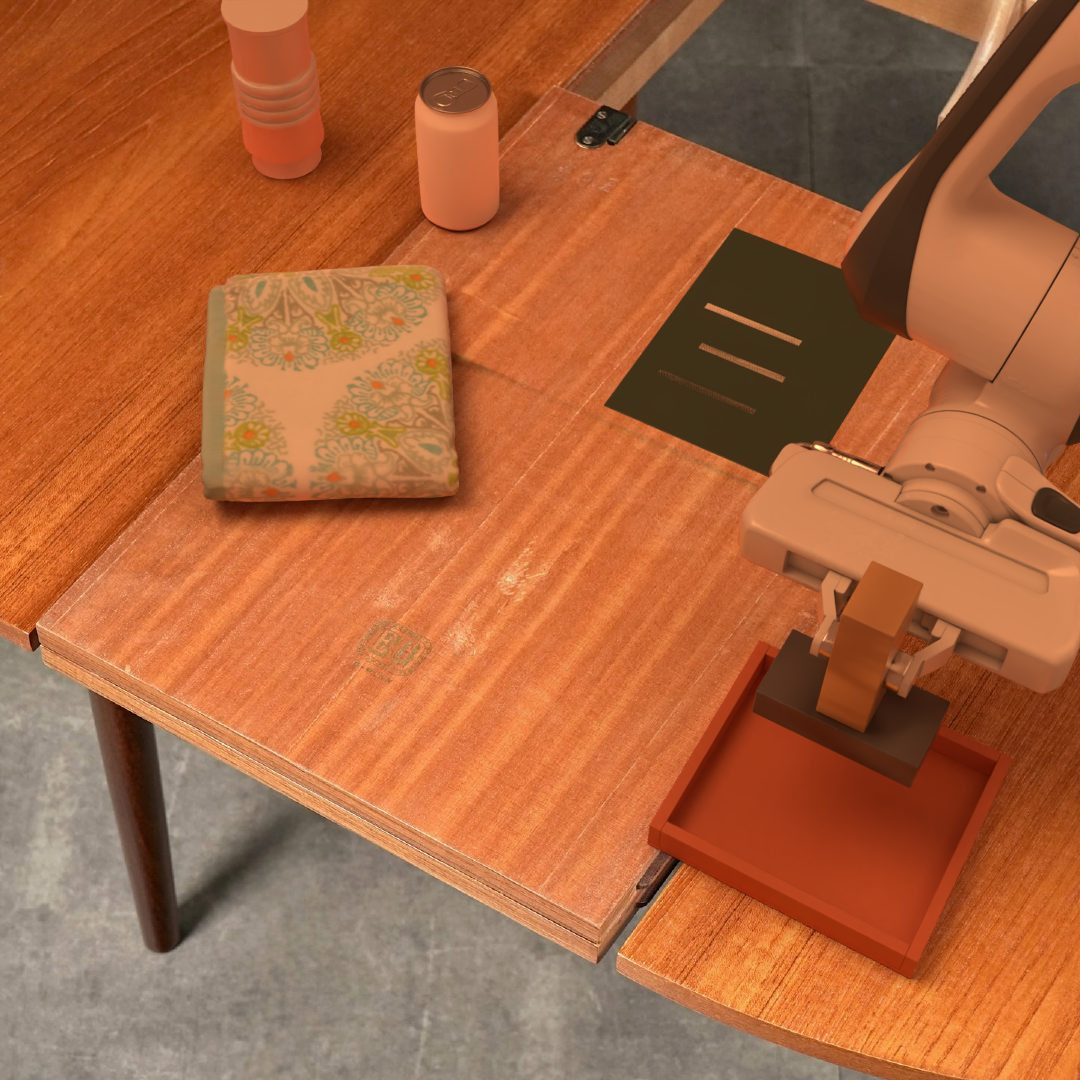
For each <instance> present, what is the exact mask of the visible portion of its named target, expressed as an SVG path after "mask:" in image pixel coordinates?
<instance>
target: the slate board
mask: <svg viewBox="0 0 1080 1080" xmlns="http://www.w3.org/2000/svg"><path fill="white" fill-rule="evenodd" d="M896 338H897V335H896V334H894V333H891V332H889V331H887V330H884V329H882V328H880V327H877V326H875V325H873V324H871V323H868V322H866V321H864V320H862V319H861V318H860V316H859V314H858V312H857V310H856V308H855V306H854V304H853V301H852V299H851V297H850V294H849V292H848V289H847V286H846V283H845V280H844V277H843V273H842V269H841V267H838V266H836V265H833V264H831V263H828V262H825V261H822V260H820V259H817V258H815V257H813V256H810V255H807V254H804V253H801V252H800V251H797V250H794V249H792V248H789V247H787V246H784V245H781V244H779V243H776V242H773V241H771V240H768V239H766V238H764V237H760V236H758V235H755V234H753V233H750V232H748V231H745V230H743V229H740V228H737V227H733V228H732V230H731V231H730V233H729V234H728V235H727V237H726V238H725V239H724V241H723V242H722V243H721V244H720V246H719V247H718V249H716V252H715V253H714V254H713V255H712V257H711V258H710V260H709V261H708V262H707V264H706V265H705V266H704V268H703V270H701V272H700V273H699V275H698V276H697V277H696V278H695V280H694V281H693V282H692V284H691V285H690V287H689V288H688V290H687V291H686V292H685V294H684V295H683V297H682V298H681V299H680V301H679V302H678V303H677V305H676V306H675V308H673V310H672V311H671V312H670V314H669V315H668V317H667V318H666V319H665V320H664V322H663V323H662V325H661V326H660V327H659V329H658V330H657V332H655V335H654V336H653V337H652V339H651V340H649V343H648V344H647V345H646V347H645V348H644V349H643V351H642V352H641V353H640V355H639V357H638V358H637V359H636V360H635V362H634V363H633V364H632V366H631V367H630V368H629V370H628V371H627V372H626V374H625V375H624V377H623V378H622V379H621V380H620V382H619V383H618V385H617V387H616V388H615V389H614V390H613V391H612V393H611V394H610V395H609V397H608V398H607V400H606V401H605V402H604V404H603V406H604V407H605V408H608V409H610V410H612V411H614V412H617V413H619V414H621V415H624V416H626V417H629V418H631V419H633V420H635V421H637V422H640V423H642V424H645V425H647V426H649V427H651V428H654V429H656V430H657V431H661V432H663V433H666V434H668V435H670V436H673V437H675V438H677V439H679V440H681V441H684V442H686V443H689V444H691V445H693V446H696V447H698V448H700V449H703V450H705V451H706V452H710V453H711V454H714V455H716V456H719V457H721V458H723V459H726V460H728V461H730V462H732V463H735V464H737V465H740V466H741V467H744V468H746V469H749V470H751V471H753V472H755V473H758V474H760V475H762V476H765V477H767V478H769V471H770V467H771V466H772V464H773V462H774V461H775V459H776V458H777V456H778V455H779V453H780V452H781V451H782V449H783V448H784V447H785V446H786V445H788V444H791V443H801V442H802V443H811V444H813V443H814V441H821V442H825V443H828V444H830V445H831V442H832V441H833V439H834V437H835V436H836V434H837V432H838V431H839V430H840V427H841V426H842V425H843V423H844V421H845V420H846V417H847V416H848V415H849V413H850V411H851V410H852V408H853V406H854V405H855V403H856V402H857V400H858V399H859V397H860V395H861V394H862V392H863V390H864V389H865V388H866V385H867V384H868V382H869V381H870V379H871V377H872V376H873V374H874V372H875V371H876V369H877V368H878V366H879V365H880V363H881V361H882V359H883V358H884V356H885V355H886V354H887V351H888V350H889V348H890V347H891V345H892V343H893V342H894V340H895V339H896Z"/></svg>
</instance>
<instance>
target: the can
mask: <svg viewBox="0 0 1080 1080" xmlns="http://www.w3.org/2000/svg"><path fill="white" fill-rule="evenodd" d="M489 79H490V78H488V77H487V76H486V75H485V74H484V73H483V72H481V71H480V70H477V69H475V68H472V67H469V66H464V65H448V66H443V67H439V68H436V69H435V70H432V71H430V72H429V73H428V74H426V75H425V76H424V77H423V78H422V79H421V81H420V82H419V86H418V94H417V96H416V98H415V102H414V123H415V139H416V141H415V142H416V153H417V154H416V155H417V169H418V182H419V197H420V206H421V210H422V213H423V215H424V216H425V218H426V219H427V220H429V221H430V222H431V223H433V224H434V225H435V226H437V227H440V228H442V229H445V230H448V231H453V232H465V231H467V232H468V231H472V230H475V229H478V228H480V227H483V226H484V225H486V224H487V223H488V222H490V221H491V220H492V219H493V218H494V217H495V216H496V214H497V213H498V210H499V207H500V150H499V149H500V147H499V109H498V100H497V98H496V95H495V93H494V92H493V87H492V86H493V85H492V83H491V80H489Z"/></svg>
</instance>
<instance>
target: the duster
mask: <svg viewBox="0 0 1080 1080" xmlns="http://www.w3.org/2000/svg"><path fill="white" fill-rule="evenodd" d="M922 587H923V583H922V582H919V581H917V580H915V579H913V578H911V577H908V576H906V575H904V574H902V573H899V572H897V571H895V570H893V569H890V568H888V567H886V566H884V565H881V564H879V563H877V562H875V561H871V563H870V564H869V566H868V568H867V570H866V571H865V573H864V575H863V577H862V578H861V580H860V582H859V584H858V585H857V587H856V589H855V591H854V592H853V594H852V596H851V598H850V599H849V601H848V603H847V605H844V607H843V610H842V612H841V615H840V618H839V621H838V622H839V625H838V629H837V633H836V636H835V640H834V644H833V648H832V651H831V655H830V659H829V662H827V661H825V660H823V659H821V658H819V657H816V656H814V655H812V654H810V649H811V644H812V641H813V639H814V637H812V636H811V635H808V634H805V633H803V632H801V631H799V630H797V629H794V628H792V629H791V631H790V632H789V634H788V635H787V637H786V638H785V641H784V642H783V643H782V646H781V648H779V649H780V651H779V653H778V654H777V656H776V658H775V659H774V661H773V663H772V665H771V666H770V668H769V670H768V671H767V673H766V675H765V676H764V678H763V680H762V682H761V683H760V685H759V687H758V688H757V690H756V694H755V699H754V704H753V708H752V712H753V713H755V714H757V715H759V716H761V717H763V718H766V719H768V720H770V721H772V722H774V723H776V724H778V725H780V726H782V727H784V728H786V729H788V730H790V731H792V732H794V733H797V734H799V735H801V736H803V737H805V738H807V739H809V740H811V741H813V742H815V743H817V744H819V745H821V746H823V747H825V748H827V749H830V750H832V751H834V752H836V753H838V754H840V755H842V756H844V757H846V758H848V759H850V760H852V761H854V762H856V763H858V764H861V765H863V766H865V767H867V768H869V769H871V770H873V771H875V772H877V773H879V774H881V775H883V776H885V777H887V778H889V779H891V780H894V781H896V782H898V783H900V784H902V785H904V786H906V787H908V788H911V786H912V784H913V782H914V780H915V778H916V776H917V774H918V772H919V770H920V768H921V766H922V764H923V762H924V760H925V758H926V756H927V754H928V752H929V750H930V748H931V746H932V744H933V742H934V740H935V738H936V736H937V734H938V732H939V730H940V728H941V726H942V725H944V722H945V719H946V717H947V714H948V711H949V709H950V707H951V704H952V702H951V701H949V700H948V699H945V698H943V697H941V696H939V695H937V694H935V693H933V692H930V691H929V690H926V689H924V688H922V687H919V686H917V685H915V684H913V686H912V688H911V690H910V691H909V693H908V695H907V697H906V698H904V697H902V696H900V695H898V694H895V693H893V692H891V691H889V690H887V689H885V688H883V687H882V685H883V683H884V679H885V676H886V674H887V672H888V670H889V668H890V666H891V664H892V663H893V661H894V658H895V656H896V655H897V653H898V651H899V650H901V651H903V648H904V645H905V642H906V639H907V636H908V630H909V627H910V624H911V621H912V618H913V615H914V612H915V609H916V606H917V603H918V600H919V596H920V593H921V590H922Z"/></svg>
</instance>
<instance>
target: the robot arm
mask: <svg viewBox="0 0 1080 1080" xmlns="http://www.w3.org/2000/svg"><path fill="white" fill-rule="evenodd" d="M1078 83H1080V0H1036V1H1035V2H1034V3H1033V4H1032V5H1031V6H1030V7H1029V8H1028V9H1027V10H1026V11H1025V12H1024V13H1023V14H1022V16H1021V18H1020V19H1019V20H1018V21H1017V22H1016V23H1015V25H1014V26H1013V28H1012V29H1011V30H1010V31H1009V32H1008V34H1007V35H1006V37H1005V38H1004V39H1003V40H1002V41H1001V43H1000V44H999V46H998V47H997V48H996V50H995V51H994V52H993V53H992V55H991V56H990V57H989V59H988V60H987V62H986V63H985V65H983V66H982V68H981V69H980V70H979V72H977V74H976V75H975V77H974V78H973V80H972V81H971V82H970V83H969V85H968V86H967V87H966V89H965V91H963V93H961V95H960V97H958V99H957V100H956V102H955V103H954V104H953V105H952V107H951V108H950V110H949V112H947V113H946V114H945V117H943V119H942V120H941V121H940V123H939V125H938V126H937V127H936V130H935V131H934V133H933V134H932V136H931V137H930V138H929V139H928V141H926V143H925V144H924V146H923V147H922V148H921V150H920V151H919V152H918V153H917V154H916V155H915V156H914V157H913V158H912V159H911V160H909V162H907V164H905V166H903V167H902V168H901V169H900V170H899V171H898V172H896V173H895V174H894V175H893V176H892V177H891V178H890V179H888V181H887V182H886V183H885V184H884V185H883V186H882V187H880V189H879V190H877V192H876V193H875V194H874V196H873V197H872V198H871V199H870V200H869V202H867V204H866V205H865V207H863V210H862V211H861V213H859V216H858V217H857V219H856V221H855V223H854V225H853V227H852V228H851V231H850V233H849V236H848V237H847V241H846V244H845V247H844V250H843V256H842V257H843V258H842V261H841V262H840V268H841V269H842V273H843V277H844V280H845V283H846V286H847V289H848V292H849V294H850V297H851V299H852V301H853V304H854V306H855V308H856V310H857V312H858V314H859V316H860V318H861V319H862V320H864V321H866V322H868V323H871V324H873V325H875V326H877V327H880V328H882V329H884V330H887V331H889V332H891V333H894V334H896V336H898V337H900V338H903V339H905V340H908V341H915V342H917V343H919V344H921V345H923V346H924V347H926V348H928V349H930V350H932V351H934V352H935V353H937V354H940V355H941V356H943V357H945V358H947V359H948V360H947V361H946V363H945V365H944V366H943V368H942V369H941V371H940V373H939V375H938V376H937V378H936V379H935V381H934V383H933V385H932V387H931V390H930V393H929V396H928V401H927V402H928V403H927V407H926V409H924V410H923V411H922V412H920V414H919V415H917V416H916V417H915V418H914V419H913V420H912V421H911V423H910V424H909V425H908V427H907V429H906V430H905V432H904V433H903V435H902V437H901V439H900V441H899V442H898V444H897V445H896V447H895V449H894V451H892V454H891V456H890V458H889V460H888V461H887V463H886V465H885V466H884V465H883V466H881V465H879V464H877V463H875V462H873V461H870V460H867V459H865V458H862V457H860V456H857V455H854V454H850V453H847V452H845V451H842V450H840V449H837V448H836V446H834V445H832V444H831V443H830V444H828V443H825V442H821V441H814V443H813V444H811V443H802V442H801V443H791V444H788V445H786V446H785V447H784V448H783V449H782V451H781V452H780V453H779V455H778V456H777V458H776V459H775V461H774V462H773V464H772V466H771V467H770V471H769V477H767V479H766V480H765V481H764V482H763V483H762V484H761V486H759V488H758V489H757V490H756V492H755V493H754V494H753V495H752V497H751V498H750V499H749V501H748V503H747V504H746V505H745V507H744V509H743V510H742V513H741V515H740V519H739V522H738V523H739V524H738V528H737V535H736V536H737V537H736V540H737V544H738V548H739V552H740V556H741V557H742V558H743V559H744V560H746V561H747V562H749V563H751V564H753V565H756V566H758V567H760V568H762V569H765V570H766V571H769V572H771V573H773V574H776V575H778V576H781V577H783V578H785V579H786V580H789V581H791V582H793V583H795V584H798V585H800V586H802V587H804V588H807V589H808V590H811V591H813V592H815V593H818V596H817V599H816V604H815V609H816V615H817V624H818V629H817V631H816V632H815V635H814V636H813V638H814V639H813V641H812V644H811V649H810V654H812V655H814V656H816V657H819V658H821V659H823V660H825V661H827V662H829V659H830V655H831V651H832V648H833V644H834V640H835V636H836V633H837V629H838V625H839V621H838V617H837V615H840V613H841V611H842V609H844V607H845V606H846V605H847V603H848V601H849V599H850V598H851V596H852V594H853V592H854V591H855V589H856V587H857V585H858V584H859V582H860V580H861V578H862V577H863V575H864V573H865V571H866V570H867V568H868V566H869V564H870V563H871V561H875V562H877V563H879V564H881V565H884V566H886V567H888V568H890V569H893V570H895V571H897V572H899V573H902V574H904V575H906V576H908V577H911V578H913V579H915V580H917V581H919V582H922V583H923V587H922V590H921V593H920V596H919V600H918V603H917V606H916V609H915V612H914V615H913V618H912V621H911V624H910V627H909V630H908V633H907V635H910V636H912V637H914V638H917V639H918V640H921V641H923V642H926V643H927V644H926V646H925V647H923V648H921V649H920V650H918V651H917V652H915V653H913V654H910V653H908V652H906V651H903V650H902V651H901V650H899V651H898V653H897V655H896V656H895V658H894V661H893V663H892V664H891V666H890V668H889V670H888V672H887V674H886V676H885V679H884V683H883V685H882V687H883V688H885V689H887V690H889V691H891V692H893V693H895V694H898V695H900V696H902V697H904V698H906V697H907V695H908V693H909V691H910V690H911V688H912V686H913V685H915V682H916V680H917V679H921V678H922V677H924V676H927V675H928V674H931V673H933V672H935V671H937V670H938V669H940V668H943V667H945V666H947V664H948V663H949V660H950V658H951V656H952V655H953V656H956V657H958V658H960V659H962V660H965V661H967V662H969V663H971V664H974V665H976V666H977V667H980V668H983V669H985V670H986V671H989V672H991V673H993V674H996V675H998V676H1000V677H1002V678H1003V679H1007V680H1008V681H1011V682H1013V683H1015V684H1018V685H1019V686H1022V687H1023V688H1026V689H1028V690H1030V691H1033V692H1035V693H1038V694H1046V693H1050V692H1052V691H1055V690H1057V689H1060V688H1061V687H1062V686H1063V685H1064V683H1065V681H1066V680H1067V677H1068V676H1069V673H1070V671H1071V669H1072V666H1073V664H1074V662H1075V661H1076V658H1077V655H1078V653H1079V650H1080V504H1079V503H1078V502H1076V501H1075V500H1074V499H1072V498H1071V497H1069V495H1067V494H1066V493H1065V492H1063V491H1062V490H1061V489H1060V488H1058V487H1057V486H1056V485H1055V484H1053V482H1051V481H1050V480H1049V479H1048V478H1047V477H1046V473H1047V470H1048V468H1049V467H1050V466H1051V465H1053V463H1054V462H1055V461H1057V460H1058V459H1059V457H1060V456H1061V455H1062V454H1063V452H1064V450H1065V449H1066V447H1069V446H1074V445H1077V444H1080V233H1079V232H1077V231H1075V230H1073V229H1071V228H1069V227H1067V226H1066V225H1063V224H1061V223H1060V222H1057V221H1056V220H1054V219H1052V218H1050V217H1049V216H1046V215H1045V214H1043V213H1041V212H1038V211H1036V209H1035V210H1034V209H1033V208H1032V207H1031V208H1030V207H1029V206H1027V205H1025V204H1023V203H1022V202H1019V201H1017V200H1015V199H1013V198H1011V197H1010V196H1008V195H1006V194H1005V193H1003V192H1002V191H1000V190H999V189H998V188H997V186H995V184H994V183H993V182H992V180H991V177H990V174H992V172H993V171H994V170H995V168H997V166H998V165H999V164H1000V162H1001V161H1002V160H1003V159H1004V158H1005V156H1006V155H1007V154H1008V153H1009V152H1010V150H1011V149H1012V148H1013V147H1014V146H1015V144H1016V143H1017V142H1018V140H1019V139H1020V138H1021V137H1022V136H1023V134H1024V133H1025V132H1026V131H1027V130H1028V129H1029V128H1030V126H1031V125H1032V123H1033V122H1034V121H1035V120H1036V118H1038V116H1039V115H1040V114H1041V113H1042V111H1043V110H1044V109H1045V108H1046V107H1047V105H1048V104H1049V103H1050V102H1051V101H1052V100H1053V99H1054V98H1055V97H1056V96H1057V95H1058V94H1059V93H1061V92H1062V91H1063V90H1064V91H1065V90H1066V89H1067V88H1069V87H1071V86H1073V85H1076V84H1078Z"/></svg>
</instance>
